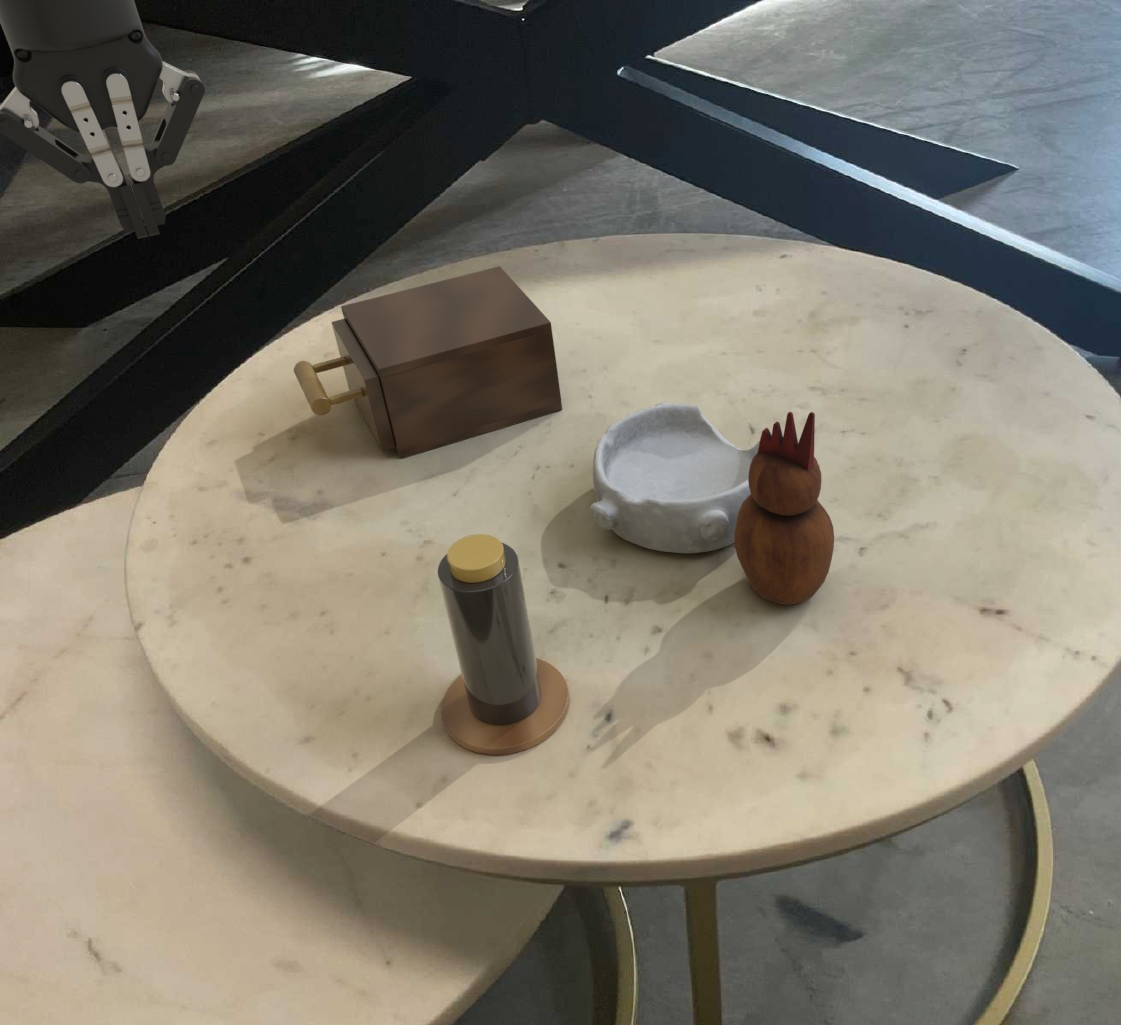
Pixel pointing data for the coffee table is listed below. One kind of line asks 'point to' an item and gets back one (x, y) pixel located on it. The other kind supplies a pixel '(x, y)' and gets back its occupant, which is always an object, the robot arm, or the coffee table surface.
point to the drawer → (349, 384)
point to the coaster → (511, 736)
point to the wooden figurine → (785, 518)
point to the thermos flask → (490, 629)
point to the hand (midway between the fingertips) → (147, 232)
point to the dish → (670, 480)
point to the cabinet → (458, 358)
